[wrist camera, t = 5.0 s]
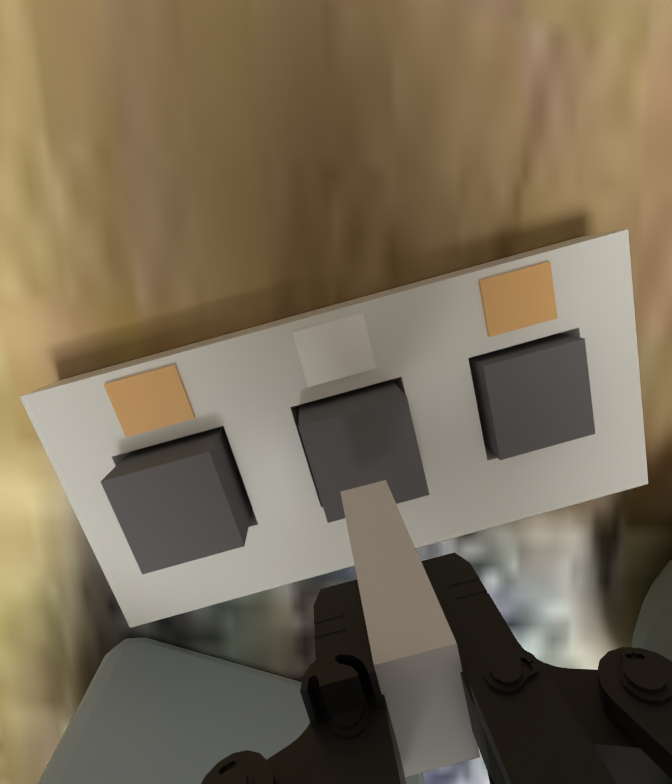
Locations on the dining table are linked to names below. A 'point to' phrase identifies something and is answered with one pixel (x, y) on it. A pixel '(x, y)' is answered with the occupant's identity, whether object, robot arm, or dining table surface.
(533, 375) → the button
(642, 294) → the dining table surface
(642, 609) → the bowl
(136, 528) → the button
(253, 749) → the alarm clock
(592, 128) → the dining table surface
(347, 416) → the button middle
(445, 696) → the robot arm
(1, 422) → the dining table surface
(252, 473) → the board
